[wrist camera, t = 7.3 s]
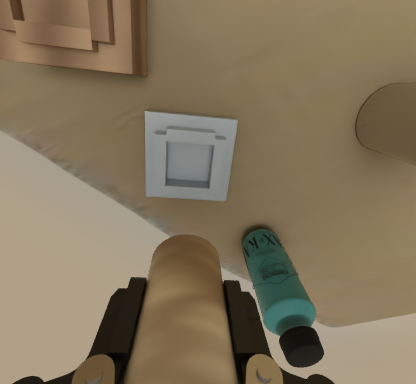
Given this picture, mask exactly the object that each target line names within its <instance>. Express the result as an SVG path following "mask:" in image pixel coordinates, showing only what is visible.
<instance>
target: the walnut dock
mask: <svg viewBox="0 0 416 384" xmlns="http://www.w3.org/2000/svg"><path fill="white" fill-rule="evenodd" d="M0 60H8V61H16V62H24V63H32V64H40V65H48V66H57V67H66V68H75V69H84V70H93V71H102V72H111V73H121V74H130V75H139V76H147V0H0Z"/></svg>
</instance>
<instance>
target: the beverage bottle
mask: <svg viewBox="0 0 416 384" xmlns="http://www.w3.org/2000/svg"><path fill="white" fill-rule="evenodd" d="M284 249H285V248H284ZM284 249H283V247H282V245H281V243H280V241H279V239H278V237H277V236H276V235H275V233H273V232H271V231H269V230H266V229H259V230H255V231H253V232H251V233H250V234H248V235H247V237H246V238H245V240H244V242H243V250H242V251H243V253H244V257H245V261H246V264H247V268H248V269H249V270H248V271H249V272H250V274H249V276H251V279H252V283H253V286H254V289H255V292H256V296H257V299H258V303H259V306H260V309H261V313H262V316H263V322H264V325H265V326H266V328H267V329H268V330H269V331H271V332H272V333H274V334H276V335H279V336H281V337H280V339H279V343H280V346H281V349H282V351H283V353H284V355H285V358H286V360H287V362H288V363H289V364H290V365H292V366H294V367H308V366H311V365H314V364H316V363H317V362H319V361H320V360H321V359H322V357H323V355H324V350H323V347H322V345H321V343H320V340H319V337H318V335H317V332H316V331H315V330H314V329H313V328H311V326H312V324H313V322H314V320H315V317H316V309H315V307H314V305H313V304H312V302H311V301H310V299H309V297H308V295H307V293H306V291H305V289H304V287H303V285H302V283H301V281H300V280H299V277H298V275H297V273H296V270H295V269H294V267H293V266H292V264H291V260H289V258H288V257H289V256H287V255H288V254H287V252H285V251H286V250H285V251H284Z"/></svg>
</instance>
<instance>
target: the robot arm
mask: <svg viewBox="0 0 416 384" xmlns="http://www.w3.org/2000/svg"><path fill="white" fill-rule="evenodd" d="M356 132H357V136H358V138H359V141H360V142H361V143H362V144H363V145H364V146H366V147H367V148H370V149H372V150H375V151H378V152H380V153H383V154H386V155H388V156H391V157H393V158H396V159H399V160H401V161H404V162H407V163H410V164H412V165H415V166H416V83H396V84H391V85H388V86H385V87H383V88H381V89H379V90H378V91H376V92H375V93H374V94H373V95H371V97H370V98H369V99H368V100H367V101H366V102H365V104H364V105H363V107H362V108H361V110H360V113H359V115H358V118H357V122H356ZM146 284H147V279H146V278H139V277H136V278H135V277H131V279H130V282H129V285H128V288H127V289H124V288H123V289H122V288H119V289H118V290H117V291H116V292H115V293H114V294H113V295H112V296H111V298H110V301H109V304H108V306H107V310H106V311H105V314H104V317H103V319H102V322H101V325H100V327H99V330H98V332H97V335H96V338H95V340H94V343H93V346H92V348H91V351H90V353H89V355H88V357H87V358H86V360H85V361H84V362H82V364H81V365H80V366H79V367H78V368H77V369H76V370H74V371H72V372H71V373H69V374H66V375H64V376H61V377H58V378H55V379H52V380H50V381H47V382H43V380H42V379H41V378H39V377H36V376H29V377H25V378H22V379H20V380H18V381H16V382H15V383H13V384H123V383H124V378H125V374H126V370H127V366H128V362H129V358H130V353H131V349H132V345H133V340H134V336H135V332H136V327H137V323H138V318H139V314H140V310H141V305H142V301H143V297H144V292H145V288H146ZM223 288H224V294H225V301H226V307H227V314H228V321H229V327H230V334H231V340H232V347H233V354H234V360H235V367H236V373H237V380H238V384H334V383H333V382H332V381H331V380H330V379H328V378H327V377H325V376H323V375H319V374H314V375H311V376H309V377H308V378H307V379H304V378H301V377H298V376H296V375H293V374H290V373H288V372H286V371H284V370H283V369H282V368H280V367H279V366H278V364H277V363H276V362H275V361H274V359H273V358H272V356H271V354H270V351H269V347H268V343H267V340H266V337H265V333H264V330H263V327H262V323H261V321H260V316H259V312H258V309H257V305H256V302H255V300H254V298H253V297H252V296H251V294H250V293H249V292H241V288H240V283H239V281H234V280H232V281H231V280H224V282H223Z"/></svg>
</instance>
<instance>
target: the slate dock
mask: <svg viewBox="0 0 416 384" xmlns="http://www.w3.org/2000/svg"><path fill="white" fill-rule="evenodd" d="M237 123H238V120H237V119H236V118H229V117H219V116H209V115H198V114H188V113H178V112H168V111H157V110H146V111H145V158H146V196H150V197H166V198H182V199H198V200H214V201H226V198H227V191H228V184H229V177H230V171H231V164H232V157H233V150H234V144H235V137H236V130H237Z"/></svg>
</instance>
